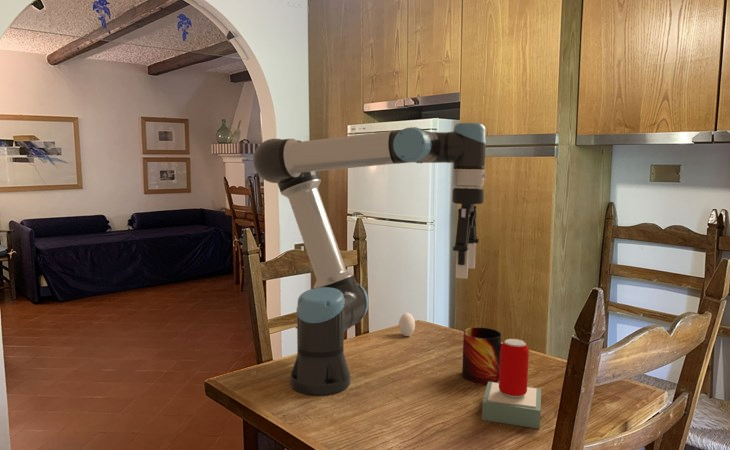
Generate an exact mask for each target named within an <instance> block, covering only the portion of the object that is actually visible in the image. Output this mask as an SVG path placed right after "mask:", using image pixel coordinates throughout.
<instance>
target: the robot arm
mask: <svg viewBox="0 0 730 450" xmlns="http://www.w3.org/2000/svg"><path fill="white" fill-rule="evenodd" d="M486 145H487V142H486V126H484V124H482V123H480V122H459V123H456V124H454V129H453V131H448V132H447V131H445V132H440V131H439V132H436V131H435V132H433V131H432V132H431V131H428V130H424V129H422V128H419V127H412V126H411V127H410V126H409V127H405V128H403V129H399V130H395V131H394V130H391V131H382V132H375V133H374V132H373V133H364V134H357V135H348V136H339V137H330V138H329V137H328V138H322V139H321V138H320V139H312V140H304V141H302V140H298V139H295V138H285V139H283V138H270V139H266V140H264V141H263V142H261V143H260V144H259V145H258V147H256V149H255V151H254V153H253V156H252V157H253V159H252V162H253V167H254V170H255V172H256V174H257V175H258V176H259V177H260V178H261V179H263V180H264V181H265V182H268V183H272V184H277V187H278V189H279V192H280V195H281V196H284V197H285V198H287V199H288V201H289V204H290V206H291V209H292V212H293V215H294V219H295V221H296V224H297V228H298V230H299V233H300V236H301V239H302V241H303V244H304V247H305V251H306V253H307V255H308V258H309V261H310V264H311V267H312V271H313V273H314V276H315V278H316V281H315V284H314V286H313V288H310V289H308V290H306V291H304V292H302V293H300V295H299V296H298V298H297V306H296V315H297V316H296V322H297V323H296V331H297V332H296V335H297V336H296V337H297V341H296V343H297V345H296V346H297V350H296V351H297V354H296V358H295V361H294V363H293V366H292V370H291V373H290V381H289V384H290V387H291V388H292V389H293V390H295V391H296V392H298V393H302V394H305V395H313V396H314V395H315V396H322V395H323V396H325V395H331V394H336V393H339V392H343V391H345V390H346V389H347V388H349V387H350V385H351V372H350V370H349V365H348V363H347V359H346V357H345V353H344V351H345V349H344V348H345V347H344V344H345V343H344V340H345V339H344V338H345V336H344V333H345V332H346V331H348V330H349V329H350V328H352V327H353V326H355V325H357V324H359V323H360V322H361V321H362V319H364V317H365V316H366V314H367V312H368V309H369V304H370V303H369V295H368V293H367V291H366V290H365V288H364V287H363V286H362V285H361V284H359V283H358V282H357V280H356V277H355V275H354V274H355V273H353V272H351V271H348V270H347V268H346V266H345V261H344V260H343V256H342V254H341V251H340V249H339V245H338V242H337V240H336V236H335V234H334V230H333V229H332V228H333V227H332V225H331V223H330V219H329V217H328V214H327V211H326V208H325V205H324V203H323V199H322V197H321V194H320V191H319V186H320V184H321V182H322V180H321V177H320V174H319V172H322V171H331V170H333V171H334V170H340V169H341V170H343V169H344V170H345V169H350V168H351V169H354V168H362V167H363V168H364V167H365V168H366V167H373V166H383V165H385V166H386V165H396V164H397V165H399V164H407V163H408V164H409V163H414V164H415V163H416V164H427V163H428V164H429V163H430V164H433V163H434V164H438V163H439V164H442V163H445V164H446V163H447V164H451V163H452V164H453V168H452V185H453V187H454V188H452V198H451V199H452V203H453V204H456V205H457V204H461V206H460V208H458V210H457V226H456V233H455V234H456V235H455V243H454V246H452V251H455V252H456V253H455V279H463V280H464V279H468V276H469V275H468V272H469V269H472V270H473V269H475V267H476V246H477V245H476V244H479V238H478V236H477V205H481V204H484V202H485V201H484V198H485V197H484V196H485V195H484V193H485V190H484V189H483V188H482V187H484V186H485V179H486V178H487V177H488V175H487V173H485V164H486Z"/></svg>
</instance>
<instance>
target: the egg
mask: <svg viewBox="0 0 730 450" xmlns="http://www.w3.org/2000/svg"><path fill="white" fill-rule="evenodd" d="M415 328H416V321H415V318H414V316H413V315H412V314H411V313H409V312H405V313H402V315H401V316H400V318H399V321H398V330H399V332H400V334H401V335H403V336H405V337H409V336H411V335H412V334H413V333H414V332H415Z"/></svg>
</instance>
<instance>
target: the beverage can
mask: <svg viewBox="0 0 730 450" xmlns="http://www.w3.org/2000/svg"><path fill="white" fill-rule="evenodd" d="M501 344H502V345H501V348H500V370H499V381H498V383H499V390H500V392H501V393H503V394H504V395H506V396H508V397H513V398H518V397H521V396H524V395H525V394H526V392H527V387H528V377H529V358H530V357H529V356H530V353H529V352H530V351H529V346H528V345H527V343H526V342H525V341H524V340H522V339H517V338H509V339H505V340H504V341H503V342H502V343H501Z"/></svg>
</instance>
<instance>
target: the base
mask: <svg viewBox="0 0 730 450" xmlns="http://www.w3.org/2000/svg"><path fill="white" fill-rule="evenodd" d="M541 402H542V388H540V387H533V386H532V387H531V386H527V392H526V394H525V395H524V396H521V397H518V398H513V397H508V396H506V395H504V394H503V393H501V392H500V390H499V382H497V383H496V382H489V381H488V384H487V385H486V389H485V392H484V396H483V399H482V407H481V420H483V421H487V422H495V423H501V424H505V425H506V424H508V425H512V426H513V425H514V426H520V427H526V428H531V429H532V428H533V429H537V430H538V429H539V430H540V429H541V427H540V426H541V408H542V407H541V406H542V403H541Z"/></svg>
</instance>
